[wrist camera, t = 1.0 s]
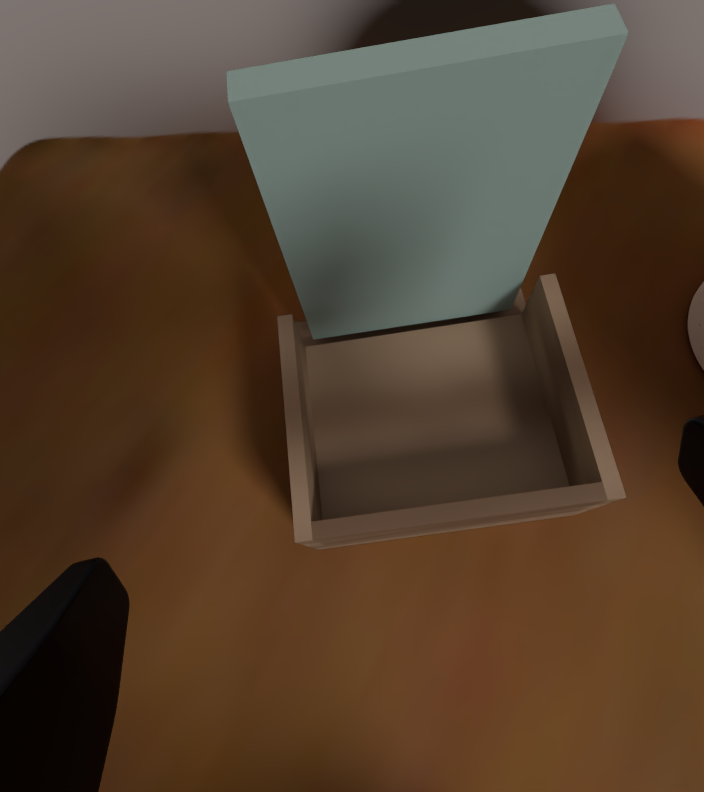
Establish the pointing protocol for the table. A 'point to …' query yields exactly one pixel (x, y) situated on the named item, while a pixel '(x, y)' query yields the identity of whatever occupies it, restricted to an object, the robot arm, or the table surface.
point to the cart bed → (442, 425)
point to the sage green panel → (422, 163)
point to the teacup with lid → (697, 325)
